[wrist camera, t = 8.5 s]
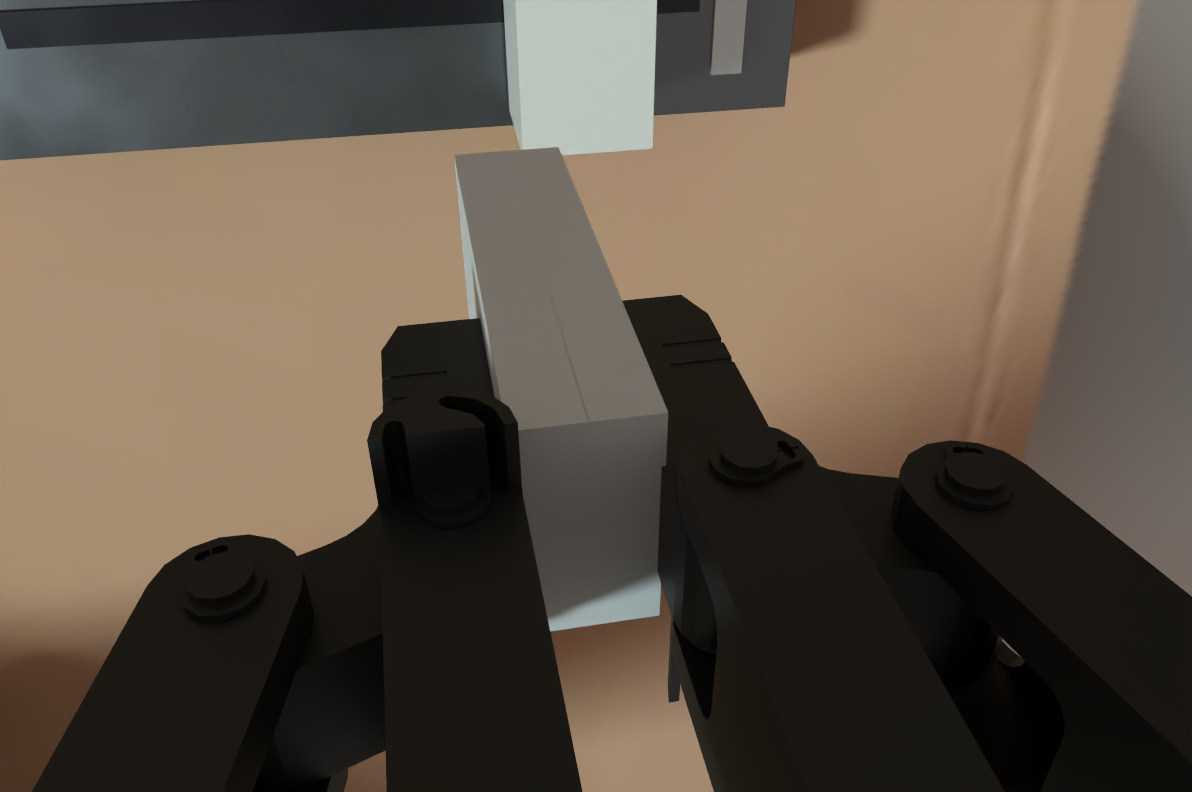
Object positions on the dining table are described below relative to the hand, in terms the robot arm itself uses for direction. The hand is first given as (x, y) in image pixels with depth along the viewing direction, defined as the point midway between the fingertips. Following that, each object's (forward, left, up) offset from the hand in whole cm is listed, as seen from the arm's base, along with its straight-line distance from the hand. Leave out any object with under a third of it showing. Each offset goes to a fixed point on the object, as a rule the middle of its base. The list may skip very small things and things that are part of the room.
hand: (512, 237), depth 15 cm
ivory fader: (+2, 0, -11) cm, 12 cm away
